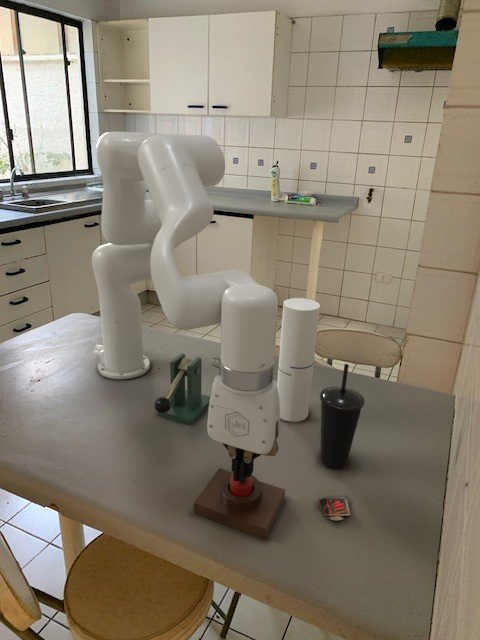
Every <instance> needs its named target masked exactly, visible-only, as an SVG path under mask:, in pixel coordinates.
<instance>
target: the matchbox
mask: <svg viewBox="0 0 480 640" xmlns="http://www.w3.org/2000/svg"><path fill="white" fill-rule="evenodd" d="M318 505H319V508H320V510H321V512H322V513H323V515H324V516H328V518H329V519H330V520H331V521H334V522H337V521H343V520H344V519H345V518H344V516H351V515H350V509H349V501H348V499H347V498H346V497H324V498H320V499H318ZM342 516H343V517H342Z"/></svg>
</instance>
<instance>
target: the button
mask: <svg viewBox="0 0 480 640" xmlns="http://www.w3.org/2000/svg"><path fill="white" fill-rule="evenodd" d="M233 476H234V475H232V476H231V478H230V491H231V493H232V494H233V495H235V496H238V497H244V496H248V495H249V494H251V492H252V488H253V479H252V477H247V479H246V480H245V482H244V483H243V484H242V483H240V482H239V481H237V482H236V481H234V480H233Z"/></svg>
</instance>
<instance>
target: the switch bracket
mask: <svg viewBox="0 0 480 640" xmlns="http://www.w3.org/2000/svg"><path fill="white" fill-rule="evenodd" d="M183 358H186V354H185V353H182V352H181V353H179V354H178V355H177V356H175V357H174V358H172V359H171V360H170V361H169V369H170V371H169V374H170V376H169V377H170V385H171V384H172V383H173V381H174V380H175V378H176V376H177V375H178V373H179V371H178V368H177V367H178V366H179V364H180V362H181V361H182V359H183ZM186 387H187V388H186ZM210 397H211V395H206V394H203V393H202V358H201V357H199V356H197V357H196V358H195V359H193V361H192V362H191V363H190V364H189V365H187V377H186V376H184V378H183V380H182V381H181V383H180V385H179V386H178V388H177V390H176V391H175V393H174V395H173V396H172V398H171V400H170V402H171V408H170V410H169V411H168V412H167V413H164V414H161V413H158V412H157V416H159V417H163V418H166V419H170V420H173V421H176V422H180V423H183V424H186V425H190V426H192V425H193V424H194V423H195V422H196V421H197V420H198V419H199V418H200V416H201V415H202V414H203V413H204V412H205V411H206V410H208V409H209V403H210Z"/></svg>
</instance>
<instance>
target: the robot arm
mask: <svg viewBox="0 0 480 640" xmlns="http://www.w3.org/2000/svg"><path fill="white" fill-rule="evenodd" d="M95 154H96V160H97V165H98V168H99V170H100V174H101V177H102V184H103V185H102V186H103V188H102V202H101V203H102V204H101V221H100V222H101V223H100V224H101V225H100V226H101V234H102V237H103V238H104V240H105V241H106V242H107V243H106V244H103V245H100V246H98V247H96V249H95V250H94V251H93V252H92V255H91V267H92V271H93V275H94V280H95V283H96V288H97V292H98V293H97V294H98V302H99V315H100V326H101V327H100V328H101V338H102V344H101V345H100V344H96V345H95V346H94V350H93V351H92V355H93V356H94V357H98V358H100V362H99V363H98V365H97V369H98V374H100V375H101V376H103V377H104V378H106V379H107V378H108V379H111V380H129V379H135V378H137V377H141V376H142V375H144V374H146V373H147V372H148V371H149V369H151V368H150V367H151V362H150V359H149V358H148V357H147V356H145V355H144V344H143V343H144V341H143V340H144V339H143V319H142V304H141V303H142V302H141V299H140V297H139V295H138V294H137V292H135V291H134V290H133V289H132V288H131V287H130V285H131V284H136V283H143V282H148V281H149V282H151V281H152V284H153V288H154V290H155V293H156V295H157V297H158V301H159V304H160V307H161V308H162V311H163V313H164V315H165V317H166V319H167V320H168V322H169V323H170V324H171V325H172V326H173V327H174V328H176V329H179V330H185V331H186V330H187V331H189V330H194V329H199V328H200V329H201V328H203V327H208V326H209V327H210V326H214V325H219V324H220V356H219V357H217V356H214V357H213V358H212V360H211V361H212V362H211V365H212V366H213V367H215V368H217V369H218V374H217V375H215V377H214V379H213V382H212V387H211V392H210V403H209V407H208V411H207V412H208V413H207V423H206V429H207V435H208V436H209V438H210V439H212V440H213V441H214V442H218V443H221V444H222V445H223V447H224V448H225V449H226V450H227V451H228V456H229V458H230V459H231V472H233V473H234V476H233V480H234V481H236V482H237V481H239V482H240V483H242V484H243V483H244V482H245V480H246V479H247V477H251V475H252V476H253V472H254V466H255V465H254V462H255V460H256V459H257V458H258V457H261V456H266V457H276V455H277V453H278V452H279V444H278V438H279V436H280V431H281V418H280V403H279V394H278V387H277V381H276V380H275V379H274V369H275V356H276V341H277V326H278V325H277V324H278V311H279V299H278V295H277V294H276V292H275V291H274V289H271V288H270V287H269V286H265V285H261V284H259V283H258V282H257V281H256V280H255V279H254V277H252V276H251V275H250V274H249V273H247V272H246V271H243V270H241V269H230V270H224V271H223V270H222V271H214V272H206V273H198V274H193V275H192V274H191V275H185V276H182V275H181V273H180V271H179V268H178V265H177V263H176V260H175V256H174V251H173V250H174V249H175V248H177V247H178V246H180V245H182V244H183V243H185V242H187V241H188V240H190V239H192V238H193V237H195V236H197V235H199V234H201V232H203V231H204V230H205V229H206V228H207V227H208V226H209V224H211V221H212V220H213V218H214V206H213V204H212V201H211V200H210V198H209V195H208V193H207V190H206V188H210V187H216V186H217V185H218V184H220V183H221V182H222V181H223V178H224V176H225V171H226V160H225V156H224V152H223V150H222V147H221V146H220V145H219V143H218V142H217V141H216V140H215V139H214V138H213V137H211V136H209V135H201V134H181V133H180V134H179V133H155V132H143V131H142V132H141V131H140V132H139V131H108V132H105V133H103V134H101V136H100V137H99V139H98V140H97V144H96V153H95ZM147 191H148V193H149V195H150V198H151V199H149V198H148V199H146V197H147Z"/></svg>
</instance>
